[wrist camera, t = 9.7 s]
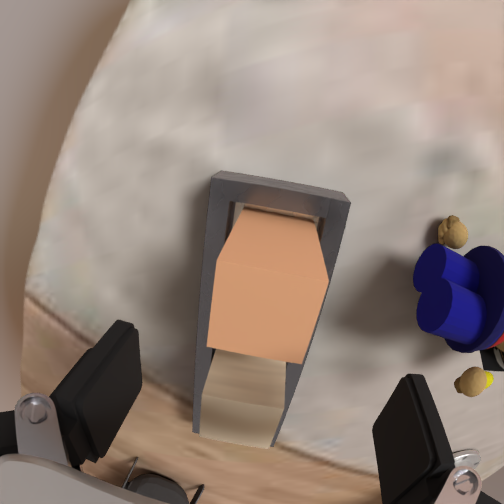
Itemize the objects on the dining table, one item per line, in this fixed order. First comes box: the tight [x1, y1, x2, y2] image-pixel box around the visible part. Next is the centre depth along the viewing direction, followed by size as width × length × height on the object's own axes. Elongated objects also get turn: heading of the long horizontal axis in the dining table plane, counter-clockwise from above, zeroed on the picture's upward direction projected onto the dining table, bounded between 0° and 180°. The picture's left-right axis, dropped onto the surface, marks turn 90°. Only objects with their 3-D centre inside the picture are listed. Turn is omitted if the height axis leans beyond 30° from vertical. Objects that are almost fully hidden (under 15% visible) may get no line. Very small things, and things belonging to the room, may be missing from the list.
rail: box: [192, 171, 351, 447], centre depth 24 cm, size 24×8×3 cm, turn 172°
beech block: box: [199, 349, 286, 449], centre depth 20 cm, size 4×4×8 cm
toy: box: [413, 215, 504, 397], centre depth 17 cm, size 12×9×15 cm
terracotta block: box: [207, 207, 329, 364], centre depth 17 cm, size 4×4×8 cm
